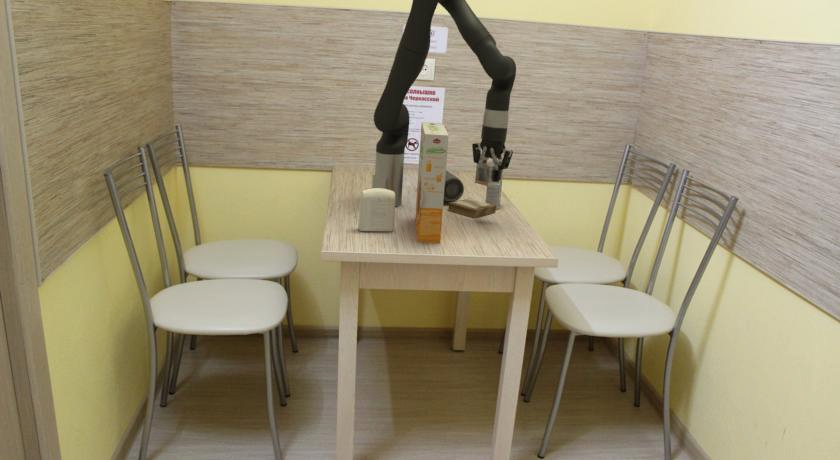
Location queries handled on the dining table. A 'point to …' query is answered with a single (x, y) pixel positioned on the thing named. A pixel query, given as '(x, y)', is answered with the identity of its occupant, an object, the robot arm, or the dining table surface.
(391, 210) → the beige upright block
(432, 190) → the cereal box
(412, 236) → the dining table surface
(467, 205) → the walnut frame
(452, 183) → the bluetooth speaker
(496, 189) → the medicine box
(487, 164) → the steel housing
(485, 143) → the robot arm
